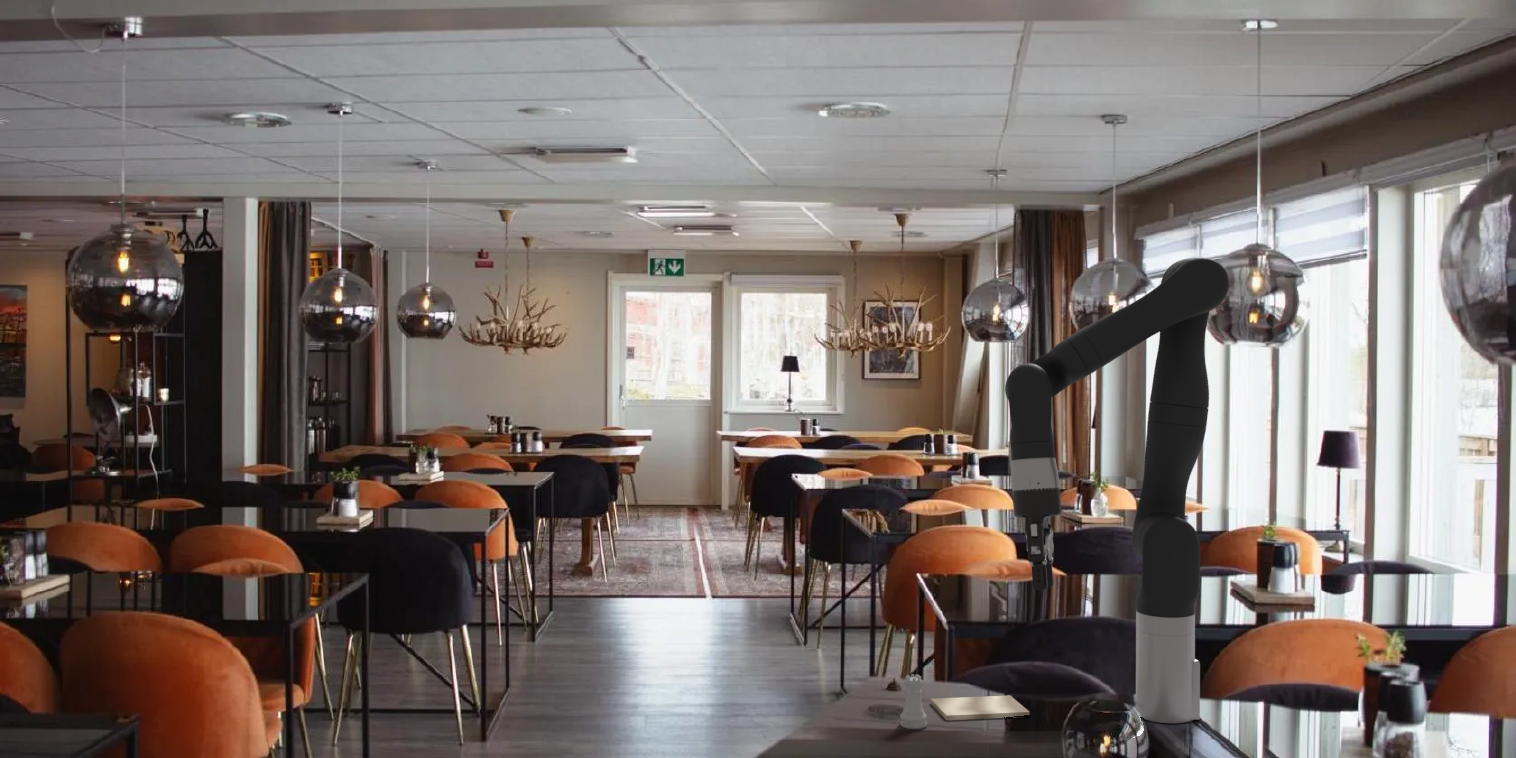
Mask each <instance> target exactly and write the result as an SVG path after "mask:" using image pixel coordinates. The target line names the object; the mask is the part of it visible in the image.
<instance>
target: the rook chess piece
mask: <svg viewBox="0 0 1516 758" xmlns="http://www.w3.org/2000/svg"><path fill="white" fill-rule="evenodd" d="M902 682H903V684H904V685H905V690H904V693H905V701H904V702H905V703H904V707H903V710H902V713H900V716H899V718H900V719H901V720H900V721H899V724H900V726H901V727H902V728H904V729H907V730H922V729H924V728H925V727H927V725H928V721H927V719H928V716H927V714H926V713H925V709H924V707H923V704H922V693H923V691H922V686H923V685H924V681H923V680H922V676H920V674H916V675H915V674H911V675H910V674H906V676H905V679H904V680H903V681H902Z"/></svg>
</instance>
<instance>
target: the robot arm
mask: <svg viewBox="0 0 1516 758" xmlns="http://www.w3.org/2000/svg"><path fill="white" fill-rule="evenodd" d="M1229 278H1230V277H1229V274H1228V271H1227V270H1226V269H1225V268H1224V266H1223V265H1222V264H1221V263H1220V262H1219V261H1216V260H1214V259H1213V258H1209V257H1207V256H1206V257H1204V256H1192V257H1188V258H1184V259H1181V260H1180V259H1179V260H1177V261H1176V262H1173V263H1172V264H1171V265H1170V266H1169V267H1168V268H1167V269H1166V270H1165V272H1164V273H1163V275H1162V278H1161V282H1160V284H1158V285H1157V286H1156V287H1155V288H1153V290H1151V291H1150V292H1148V293H1146V294H1144V295H1143V296H1142V297H1140V298H1138V299H1137V300H1135V301H1134V302H1132V303H1129V304H1128V305H1126V306H1124V307H1122V308H1121V309H1118V310H1116V311H1113V312H1112V313H1110V314H1108V315H1105V316H1103V317H1102V318H1099V319H1097V320H1095V321H1093V322H1091V323H1090V324H1088V325H1086V326H1085V327H1083V328H1081V329H1080V330H1078V331H1076V332H1074V333H1073V334H1072V335H1070V336H1068V337H1066V338H1065V339H1063V340H1061V341H1060V342H1059V343H1057V344H1056V345H1054V347H1053V348H1052V349H1050V350H1049V351H1048V352H1046V353H1045V354H1043V355H1042V356H1040V357H1038V358H1036V359H1035V360H1033V361H1031V362H1029V363H1022V364H1020V365H1018V366H1016V367H1015V368H1013V370H1011V372H1010V373H1009V375H1008V377H1007V379H1006V380H1005V381H1006V382H1005V386H1004V392H1005V397H1006V399H1007V400H1008V405H1009V406H1008V407H1009V408H1008V409H1009V417H1010V425H1011V426H1010V433H1009V444H1010V458H1011V471H1010V472H1011V474H1010V477H1011V478H1010V479H1011V480H1010V481H1011V490H1012V502H1013V503H1012V505H1013V514H1014V517H1015V518H1017V519H1018V518H1019V519H1023V518H1027V519H1028V523H1025V529H1024V530H1025V538H1026V551H1027V560H1028V563H1029V565H1030V567H1031V577H1032V579H1031V580H1032V589H1034V590H1035V591H1045V590H1047V589H1048V588H1053V586H1054V574H1053V563H1054V558H1055V553H1054V551H1055V550H1054V549H1055V548H1054V546H1055V545H1054V539H1053V537H1054V530H1053V527H1052V524H1051V522H1048V518H1049V517H1055V516H1056V517H1057V516H1061V514H1062V505H1061V504H1062V501H1061V493H1060V492H1061V491H1060V490H1061V488H1060V479H1059V470H1058V469H1059V468H1058V466H1057V465H1058V464H1057V461H1056V451H1055V450H1056V449H1055V448H1056V447H1055V439H1054V433H1053V432H1054V431H1053V426H1052V424H1053V423H1052V421H1053V420H1052V413H1053V410H1052V408H1053V407H1052V406H1053V405H1052V401H1053V399H1052V398H1053V397H1055V396H1057V395H1058V394H1059V393H1061V392H1062V391H1063V390H1065V389H1066V388H1068V387H1069V386H1071V385H1072V384H1075V383H1076V382H1079V381H1080V380H1082V379H1084V378H1086V377H1088V376H1090V375H1091V374H1093V373H1095V372H1097V371H1098V370H1100V369H1101V368H1103V367H1104V366H1106V365H1107V364H1110V363H1111V362H1112V361H1114V360H1115V359H1118V358H1119V357H1120V356H1122V355H1124V354H1125V353H1126V352H1128V351H1130V350H1131V349H1133V348H1134V347H1136V346H1138V345H1140V344H1141V343H1143V342H1144V341H1147V339H1149V338H1151V337H1152V336H1154V335H1156V334H1158V333H1159V340H1158V341H1159V342H1158V348H1157V354H1156V358H1155V359H1156V360H1155V364H1154V371H1153V372H1154V373H1153V377H1152V383H1151V384H1152V385H1151V391H1150V398H1149V405H1148V414H1147V425H1146V426H1147V427H1146V438H1145V450H1144V463H1143V466H1144V467H1143V479H1142V485H1141V491H1140V496H1139V500H1138V505H1137V510H1136V514H1135V517H1134V522H1133V527H1132V532H1131V543H1132V547H1133V550H1134V552H1135V554H1136V555H1137V557H1138V558H1139V559H1140V560H1141V561H1142V562H1141V563H1142V565H1141V587H1140V590H1139V591H1138V593H1136V598H1135V601H1136V602H1135V709H1136V708H1137V710H1138V712H1140V713H1141V715H1142V717H1143V718H1144V719H1143V718H1142V719H1143V720H1145V721H1150V722H1155V723H1161V724H1162V723H1163V724H1184V723H1189V722H1192V721H1194V720H1200V718H1201V717H1200V716H1201V715H1200V714H1201V713H1200V711H1201V705H1200V704H1201V699H1200V698H1201V663H1200V661H1199V660H1198V659H1197V658H1196V655H1195V654H1196V636H1195V634H1196V632H1195V631H1196V603H1197V600H1198V597H1199V594H1200V579H1201V577H1200V575H1201V543H1200V539H1199V535H1198V532H1197V531H1196V529H1195V527H1194V526H1193V525H1191V523H1189V522H1188V521H1186V504H1187V503H1186V501H1187V489H1188V484H1189V481H1190V477H1191V474H1192V472H1193V470H1194V467H1195V465H1196V462H1197V460H1198V458H1199V455H1200V452H1201V451H1202V447H1203V444H1204V441H1205V440H1204V439H1205V437H1206V436H1205V435H1206V431H1207V424H1208V415H1209V408H1210V407H1209V405H1210V388H1209V387H1210V386H1209V377H1208V372H1207V371H1208V369H1207V365H1206V357H1205V338H1206V331H1207V327H1208V326H1207V325H1208V320H1209V314H1210V312H1211V311H1213V310H1215V309H1217V307H1218V306H1220V305H1221V304H1222V302H1223V301H1224V300H1225V299H1226V297H1227V295H1228V292H1229V287H1230V279H1229Z"/></svg>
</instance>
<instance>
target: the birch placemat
mask: <svg viewBox="0 0 1516 758" xmlns="http://www.w3.org/2000/svg"><path fill="white" fill-rule="evenodd" d="M930 705H931V706H933V708H934V709H935V710H936V711H937V712H938V713H939V714H940V715H941V716H942V718H944V719H945V721H964V720H965V721H967V720H984V719H985V720H986V719H989V720H990V719H1006V717H1013V718H1015V717H1014V716H1024V715H1030V710H1028V709H1027V708H1025V707H1024V706H1023V705H1022V704H1021V703H1020V702H1018V701H1017V700H1016V699H1015V698H1014V697H1013V696H1012V695H992V696H967V697H965V696H964V697H960V696H959V697H943V698H937V697H936V698H930ZM1004 717H1005V718H1004Z"/></svg>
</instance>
